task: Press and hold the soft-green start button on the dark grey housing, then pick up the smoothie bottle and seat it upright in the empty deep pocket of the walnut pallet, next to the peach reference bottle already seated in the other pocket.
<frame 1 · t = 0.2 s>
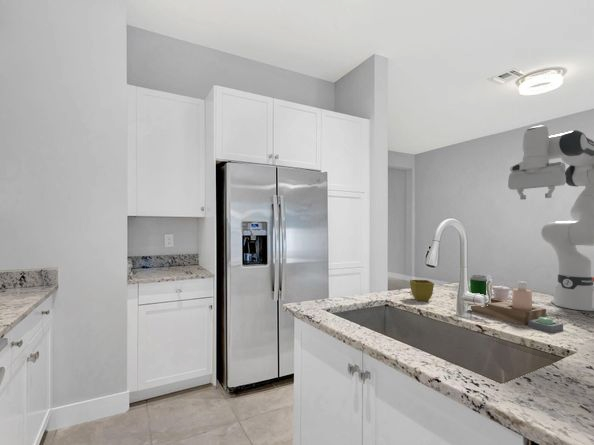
hand: (535, 198, 134), 48 cm above the worktop, fingers open, 8 cm apart
start button: (545, 323, 111), point 3 cm above the worktop, slide at 0.7 cm
pallet: (504, 317, 127), on the worktop
flower pot: (421, 300, 157), on the worktop
button housing: (545, 331, 111), on the worktop
reference bottle: (521, 319, 121), resting on pallet
soda can: (478, 301, 157), on the worktop
smoothie: (500, 310, 140), on the worktop
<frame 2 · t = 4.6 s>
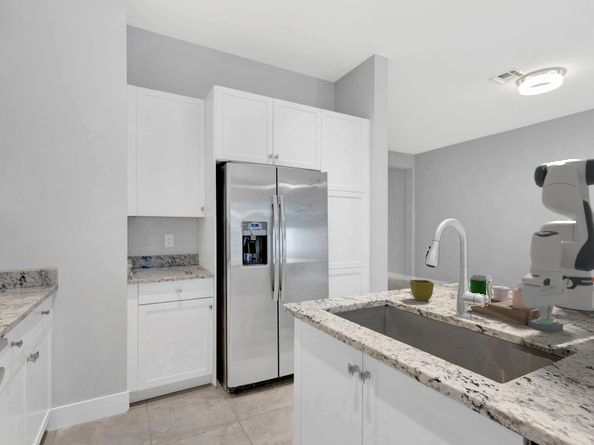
hand: (545, 318, 111), 4 cm above the worktop, fingers closed, pressing on start button
start button: (545, 324, 111), point 2 cm above the worktop, slide at 0.8 cm, touching gripper
everything else where it was.
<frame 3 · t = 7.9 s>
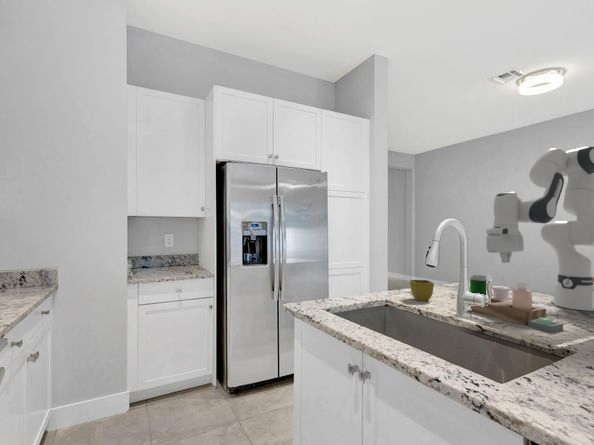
hand: (505, 262, 137), 21 cm above the worktop, fingers closed
start button: (545, 324, 111), point 2 cm above the worktop, slide at 0.9 cm
everything else where it was.
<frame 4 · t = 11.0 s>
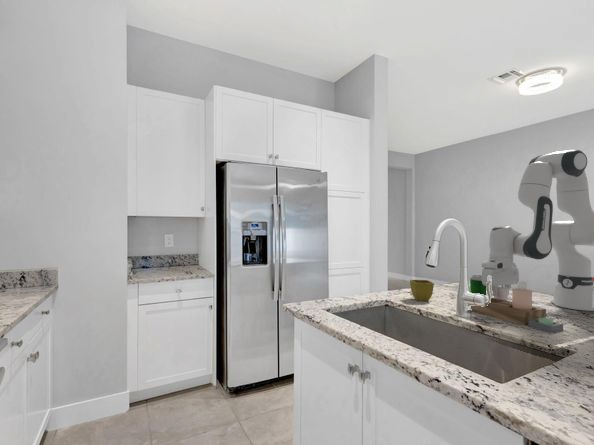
hand: (500, 295, 140), 6 cm above the worktop, fingers closed on smoothie, 6 cm apart
smoothie: (500, 310, 140), on the worktop, touching gripper
everything else where it was.
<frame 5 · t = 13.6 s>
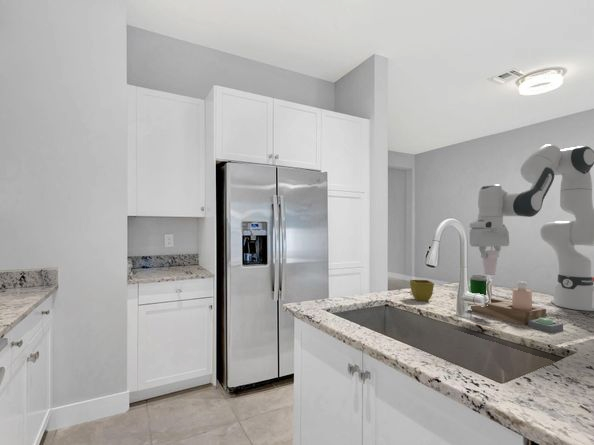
hand: (490, 257, 133), 23 cm above the worktop, fingers closed on smoothie, 6 cm apart
smoothie: (489, 274, 133), point 16 cm above the worktop, touching gripper
everything else where it was.
when the fingers open (8 cm above the worktop, at t = 16.5 s): smoothie stays where it is, resting on pallet.
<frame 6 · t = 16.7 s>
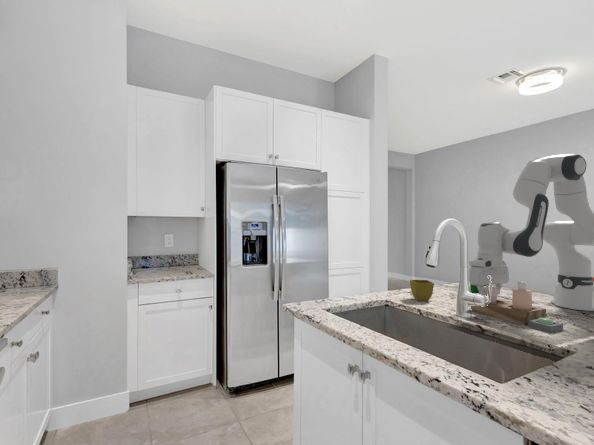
hand: (489, 295, 133), 8 cm above the worktop, fingers open, 8 cm apart
smoothie: (489, 311, 133), point 1 cm above the worktop, touching pallet
everything else where it was.
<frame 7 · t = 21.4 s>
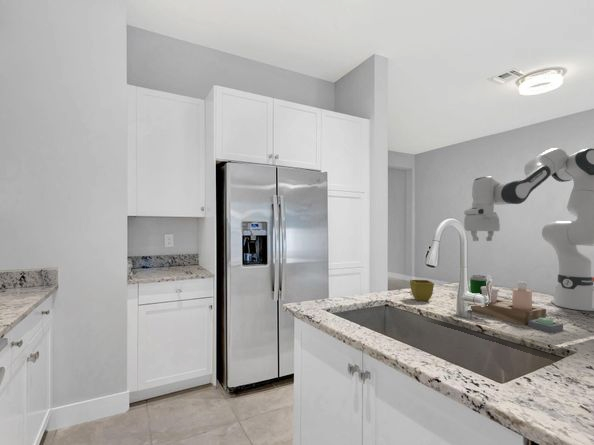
hand: (482, 241, 150), 29 cm above the worktop, fingers open, 8 cm apart
nothing on the worktop moved.
at the end: smoothie 0.0 cm from the target spot on the pallet, point 0.8 cm above the pallet's base; smoothie tilted 0°; the gripper is holding nothing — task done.
